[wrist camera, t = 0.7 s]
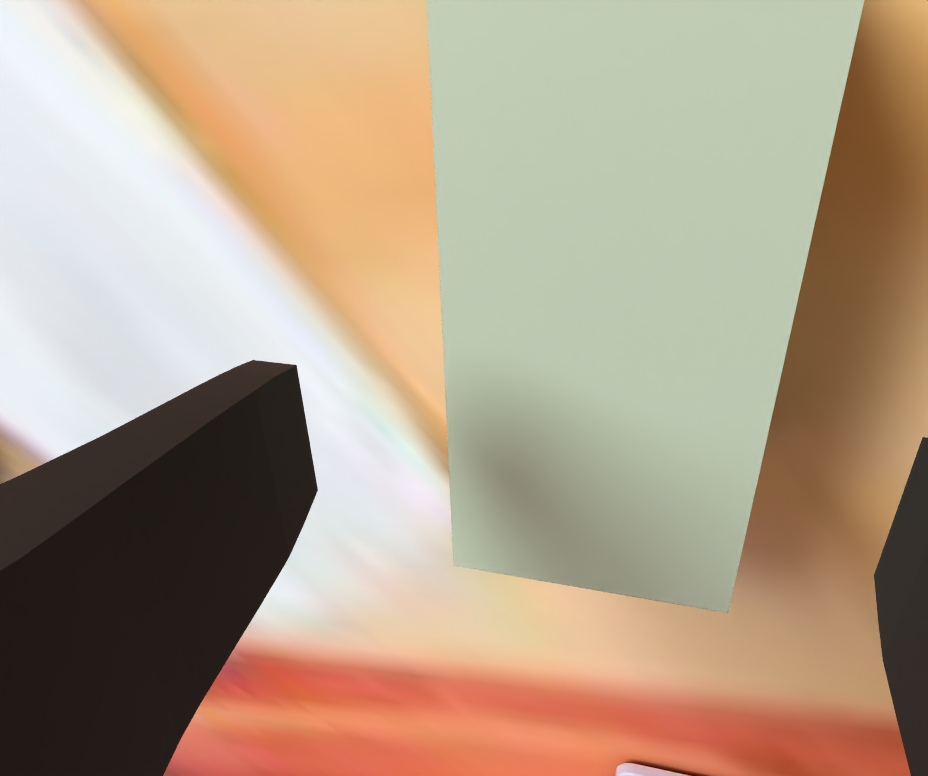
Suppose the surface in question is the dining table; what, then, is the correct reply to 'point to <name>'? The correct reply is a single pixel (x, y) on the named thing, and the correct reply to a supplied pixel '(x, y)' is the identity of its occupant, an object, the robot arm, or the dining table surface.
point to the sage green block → (623, 273)
